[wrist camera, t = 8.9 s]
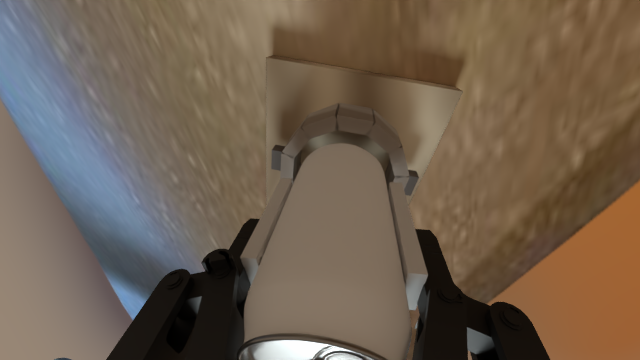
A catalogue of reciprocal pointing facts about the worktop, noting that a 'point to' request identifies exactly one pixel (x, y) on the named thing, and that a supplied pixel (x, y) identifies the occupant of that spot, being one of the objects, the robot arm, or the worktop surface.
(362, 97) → the grey ring holder base
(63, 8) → the worktop surface
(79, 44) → the worktop surface
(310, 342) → the can
